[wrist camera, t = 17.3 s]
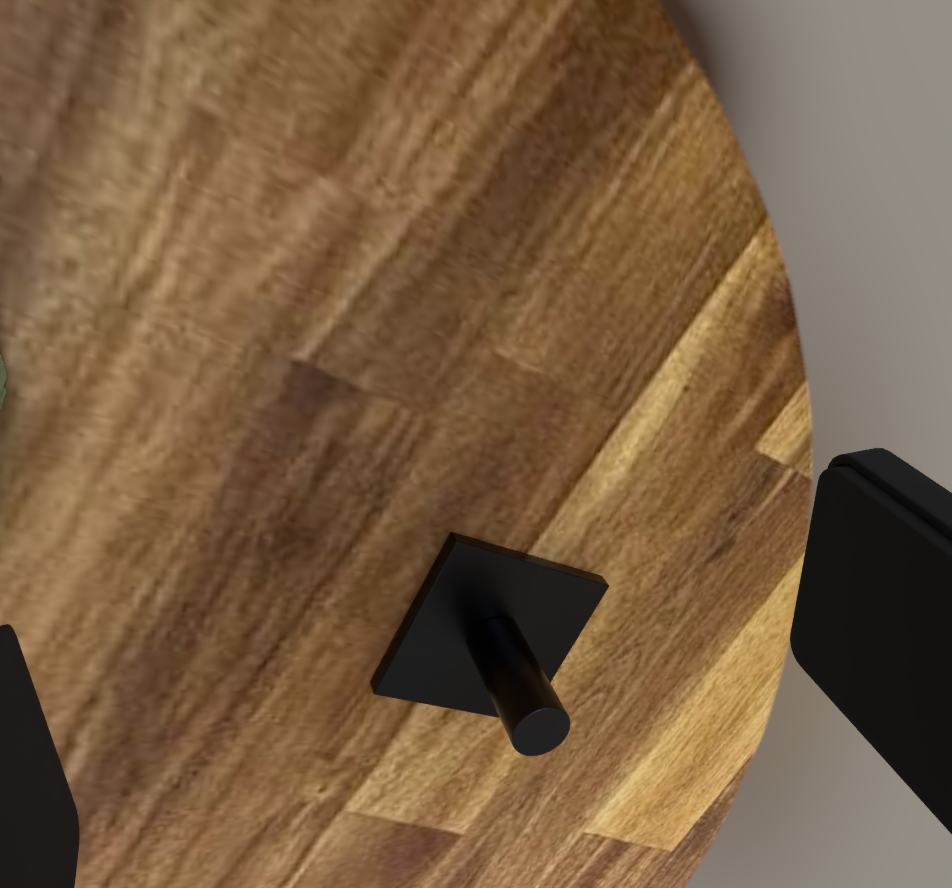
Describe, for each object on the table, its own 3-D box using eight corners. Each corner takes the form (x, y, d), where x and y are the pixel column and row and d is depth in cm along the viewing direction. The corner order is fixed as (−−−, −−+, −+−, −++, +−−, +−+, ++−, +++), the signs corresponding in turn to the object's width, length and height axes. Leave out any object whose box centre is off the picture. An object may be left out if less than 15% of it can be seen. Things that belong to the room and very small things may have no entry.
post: (450, 531, 37) (502, 628, 31) (602, 575, 40) (673, 670, 35) (369, 682, 39) (405, 798, 33) (520, 711, 42) (574, 820, 37)
